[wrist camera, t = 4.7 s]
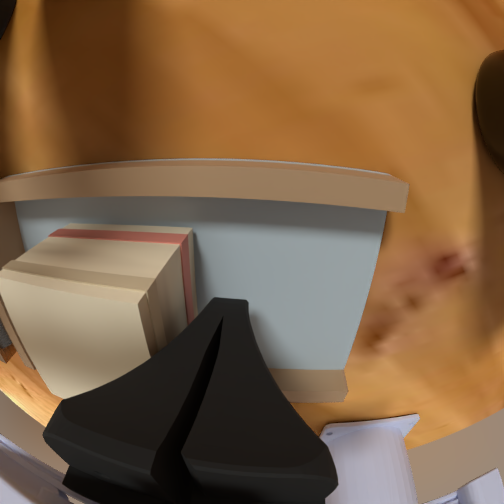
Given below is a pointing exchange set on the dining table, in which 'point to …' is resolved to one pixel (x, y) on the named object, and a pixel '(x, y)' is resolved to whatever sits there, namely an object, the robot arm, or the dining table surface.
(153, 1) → the dining table surface
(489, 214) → the dining table surface
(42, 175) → the bay
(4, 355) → the winch
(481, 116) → the supplement bottle
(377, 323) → the dining table surface
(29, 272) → the red striped cream box
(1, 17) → the travel mug
